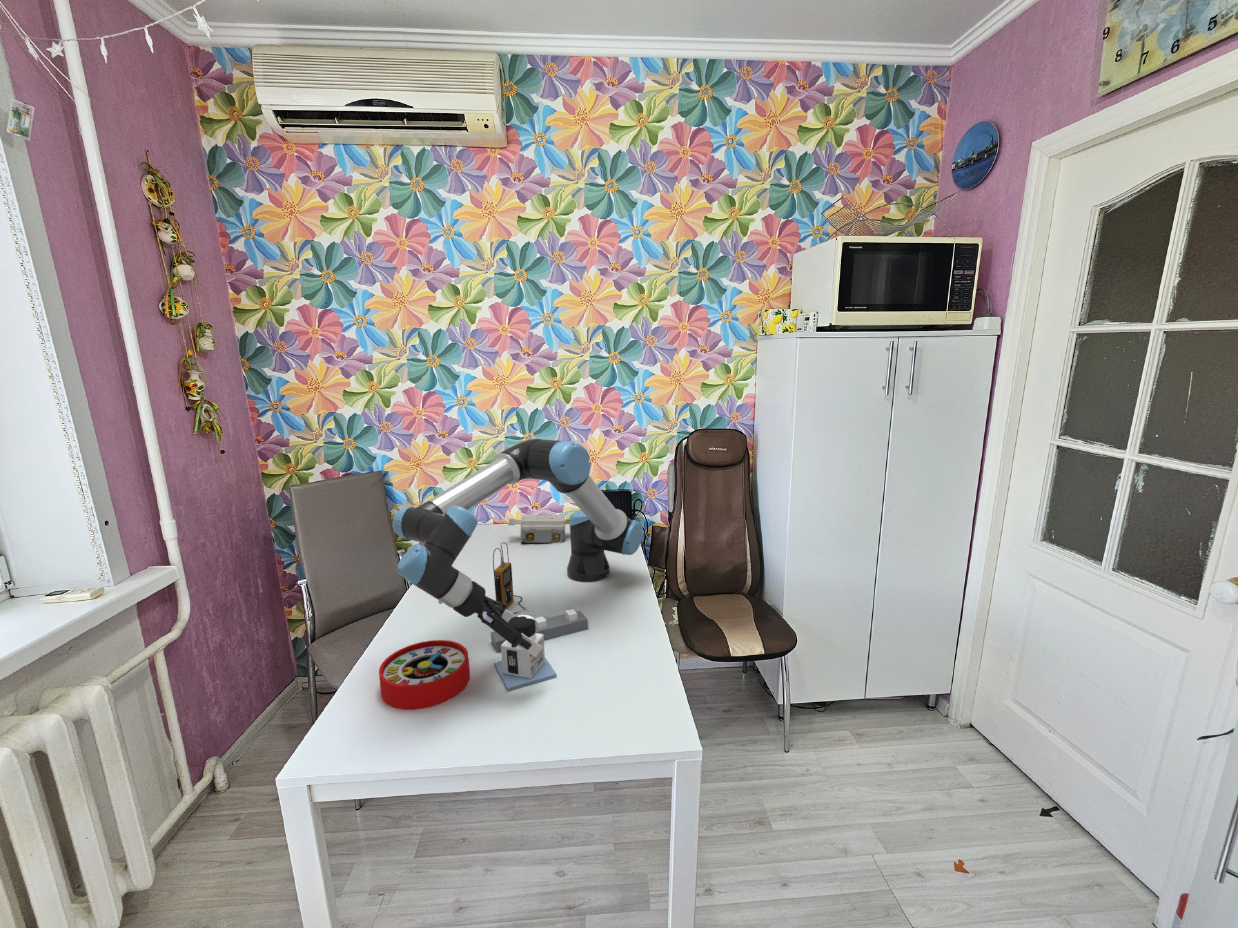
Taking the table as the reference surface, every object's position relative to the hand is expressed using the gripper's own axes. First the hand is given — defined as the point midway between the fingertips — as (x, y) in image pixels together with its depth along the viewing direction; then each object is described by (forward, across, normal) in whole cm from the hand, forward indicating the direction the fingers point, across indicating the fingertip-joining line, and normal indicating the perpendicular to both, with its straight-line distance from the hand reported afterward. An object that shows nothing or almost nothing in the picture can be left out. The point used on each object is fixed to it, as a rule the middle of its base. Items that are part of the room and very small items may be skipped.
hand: (530, 638), depth 132 cm
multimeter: (+11, -36, -2) cm, 38 cm away
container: (+4, 0, -7) cm, 8 cm away
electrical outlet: (+30, -92, +18) cm, 99 cm away
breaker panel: (+11, -15, -1) cm, 19 cm away
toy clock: (-11, -7, -23) cm, 26 cm away
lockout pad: (+5, 0, -7) cm, 9 cm away
